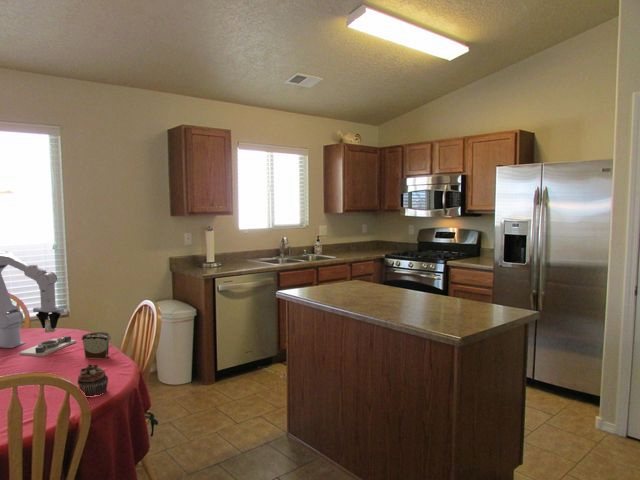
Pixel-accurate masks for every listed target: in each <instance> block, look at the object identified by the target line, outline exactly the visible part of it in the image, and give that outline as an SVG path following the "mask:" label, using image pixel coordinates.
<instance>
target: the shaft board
mask: <svg viewBox="0 0 640 480" xmlns="http://www.w3.org/2000/svg"><path fill="white" fill-rule="evenodd" d="M57 339H58V338H52V339H47V340H44V341H41V342H38V344H36V345H35V346H31V347H30V348H27V349H24V350H21V351H19V352H18V354H19V355H21V356H23V355H24V356H35V357H45V356H47V355H49V354H53V353H54V352H57V351H58V350H61V349H63V348H65V347H68V346H71V345H72V344H75V343H77V340H76V339H71V341H69V342H62V343H59V341H58V340H57ZM43 344H46V345H47V349H45V351H44V352H43V353H36V349H35V348H36V347H40V346H41V345H43ZM70 344H71V345H70Z"/></svg>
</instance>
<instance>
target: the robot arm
mask: <svg viewBox="0 0 640 480" xmlns="http://www.w3.org/2000/svg"><path fill="white" fill-rule="evenodd" d="M7 266H11V267H12V268H15V269H18V270H20V271H22V272H23V274H24V276H25V277H27V278H30V279H31V280H33V281H35V282H36V284H37V286H38V288H39V293H40V294H39V295H40V307H39V306H38V307H33V309H32V312H33V313H36V315H35V316H36V318H37V319H38V320H39V322H40V324H41V328H42V329H45V321H44V320H45V319H46V318H50V322H51V328H52V329H54V328H55V329H56V328H57V325H58V320H59V319H60V316H61V315H62V314H64V313H65V308H63V307H57V306H56V305H57V304H56V290H55V289H56V288H55V287H56V285H55V284H56V283H57V282H58V275H56V273H55V272H53V271H47V270H45V269H43V268H41V267H39V266H38V265H37V264H28V263H26V262H24V261H23V260H21V259H19V258H18V257H16V256H15V255H14V253H12V252H9V250H3V251H0V348H3V349H13V348H16V347H19V346H21V345H24V344H26V342H25V341H22V340H21V325H22V324H21V323H22V322H23V321H24V314H23V313H22V312H21V310H20V309H19V307H18V306H17V305H15V304H13V302H12V299H11V296H10V294H9V291H8V288H7V286H6V283H5V280H4V277H3V275H2V271H3V270H4V269H5V268H6V267H7Z"/></svg>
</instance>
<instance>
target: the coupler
mask: <svg viewBox="0 0 640 480" xmlns="http://www.w3.org/2000/svg"><path fill="white" fill-rule="evenodd" d="M44 321H45V328H44V333H46V334H47V333H48V334H49V333H54V332H56V328H54V329H52V328H51V322H50V318H49V317H48V318H46V319H45V320H44Z"/></svg>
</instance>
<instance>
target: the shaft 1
mask: <svg viewBox="0 0 640 480" xmlns="http://www.w3.org/2000/svg"><path fill="white" fill-rule="evenodd" d="M35 349H36V353H43V352H44V351H45V349H47V345H46V344H43V345H41V346H40V347H36V348H35Z"/></svg>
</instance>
